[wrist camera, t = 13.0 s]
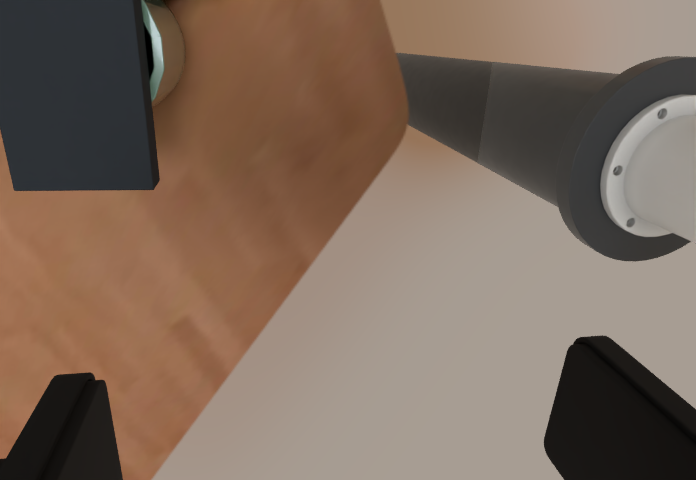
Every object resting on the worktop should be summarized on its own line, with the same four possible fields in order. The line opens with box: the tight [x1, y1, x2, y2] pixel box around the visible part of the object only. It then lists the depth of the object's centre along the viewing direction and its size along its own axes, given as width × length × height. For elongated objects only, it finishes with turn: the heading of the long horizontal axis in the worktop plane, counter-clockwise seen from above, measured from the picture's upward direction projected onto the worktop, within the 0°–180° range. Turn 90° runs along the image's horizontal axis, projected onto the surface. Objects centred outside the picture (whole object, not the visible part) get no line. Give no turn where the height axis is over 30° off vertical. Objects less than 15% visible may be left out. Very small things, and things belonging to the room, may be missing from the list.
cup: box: [141, 0, 185, 107], centre depth 27 cm, size 8×8×9 cm
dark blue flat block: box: [0, 0, 160, 191], centre depth 22 cm, size 6×13×2 cm, turn 177°
